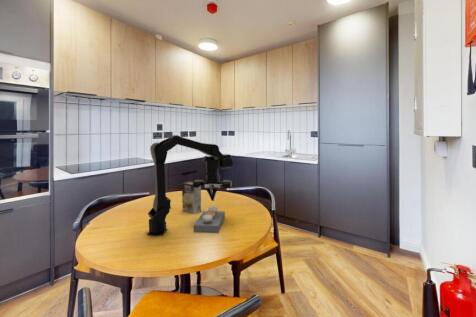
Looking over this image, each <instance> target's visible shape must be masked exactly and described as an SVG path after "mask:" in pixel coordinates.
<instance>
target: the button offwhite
mask: <svg viewBox="0 0 476 317" xmlns="http://www.w3.org/2000/svg"><path fill="white" fill-rule="evenodd" d="M208 211H209V212H217V211H218V206H216V205H213V206H208Z"/></svg>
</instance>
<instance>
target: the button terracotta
mask: <svg viewBox="0 0 476 317" xmlns="http://www.w3.org/2000/svg"><path fill="white" fill-rule="evenodd" d="M206 215H212V218H214V217H215V212H206Z"/></svg>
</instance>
